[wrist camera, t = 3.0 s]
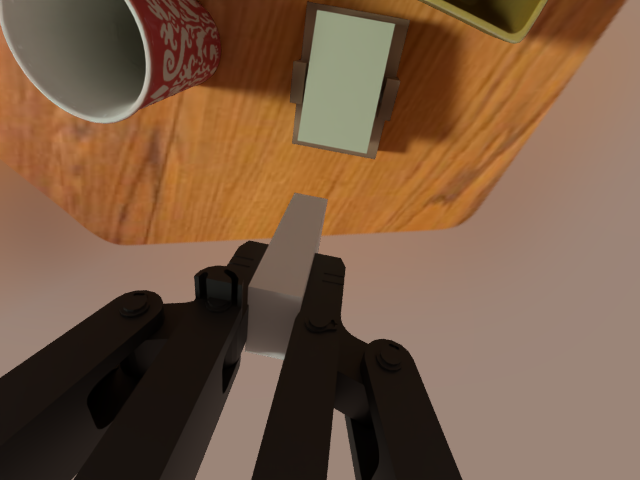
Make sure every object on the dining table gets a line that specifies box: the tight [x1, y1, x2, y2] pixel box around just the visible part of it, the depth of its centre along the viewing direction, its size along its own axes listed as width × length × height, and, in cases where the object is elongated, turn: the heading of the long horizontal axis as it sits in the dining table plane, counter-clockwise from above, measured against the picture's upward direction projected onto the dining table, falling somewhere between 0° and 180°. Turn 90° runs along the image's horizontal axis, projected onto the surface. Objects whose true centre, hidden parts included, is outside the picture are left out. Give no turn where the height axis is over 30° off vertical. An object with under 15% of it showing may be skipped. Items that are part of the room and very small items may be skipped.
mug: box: [0, 0, 221, 124], centre depth 24 cm, size 13×9×14 cm
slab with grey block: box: [290, 2, 410, 159], centre depth 28 cm, size 11×8×5 cm
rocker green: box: [298, 10, 395, 154], centre depth 25 cm, size 9×6×2 cm, turn 171°
